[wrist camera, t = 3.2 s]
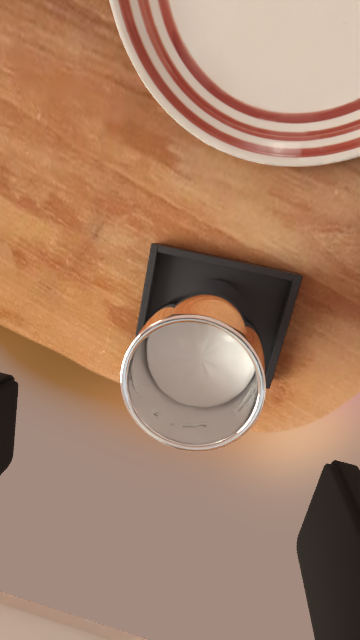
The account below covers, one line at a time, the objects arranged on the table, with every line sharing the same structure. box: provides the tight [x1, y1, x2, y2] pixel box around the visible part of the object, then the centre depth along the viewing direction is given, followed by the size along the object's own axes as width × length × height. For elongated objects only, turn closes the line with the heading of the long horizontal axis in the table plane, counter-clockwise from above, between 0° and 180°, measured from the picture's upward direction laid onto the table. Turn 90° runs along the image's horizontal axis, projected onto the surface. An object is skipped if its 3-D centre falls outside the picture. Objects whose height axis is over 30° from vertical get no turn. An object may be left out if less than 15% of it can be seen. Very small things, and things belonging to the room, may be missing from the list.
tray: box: [135, 243, 303, 389], centre depth 29 cm, size 12×10×2 cm
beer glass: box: [120, 279, 266, 451], centre depth 22 cm, size 7×7×15 cm
